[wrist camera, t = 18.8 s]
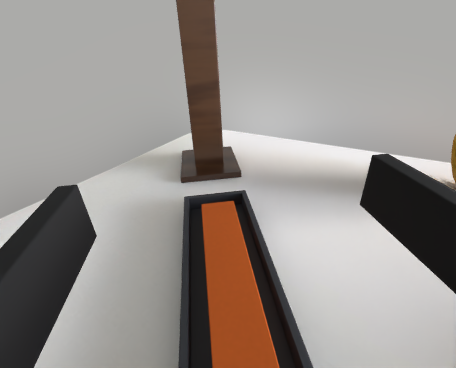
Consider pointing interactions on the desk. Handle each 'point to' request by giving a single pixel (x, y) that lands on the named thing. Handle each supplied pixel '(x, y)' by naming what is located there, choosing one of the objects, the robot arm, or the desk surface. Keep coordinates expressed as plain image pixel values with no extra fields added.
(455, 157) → the apple
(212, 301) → the orange long flat bar
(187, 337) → the tray
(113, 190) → the desk surface
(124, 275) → the desk surface
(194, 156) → the stand
